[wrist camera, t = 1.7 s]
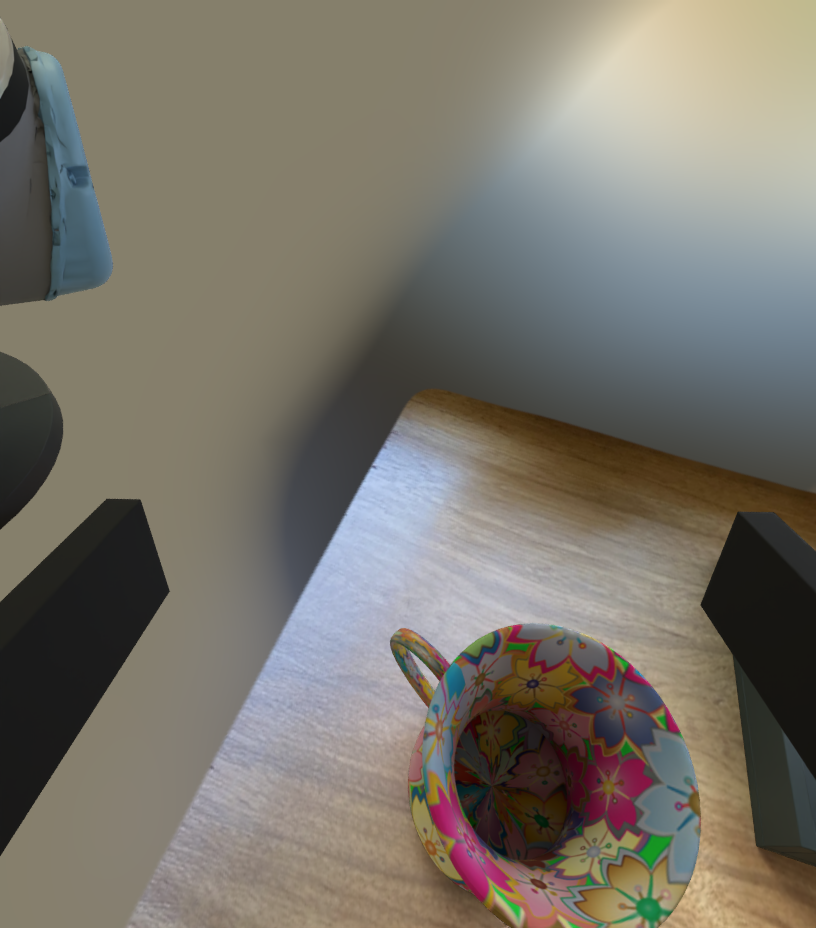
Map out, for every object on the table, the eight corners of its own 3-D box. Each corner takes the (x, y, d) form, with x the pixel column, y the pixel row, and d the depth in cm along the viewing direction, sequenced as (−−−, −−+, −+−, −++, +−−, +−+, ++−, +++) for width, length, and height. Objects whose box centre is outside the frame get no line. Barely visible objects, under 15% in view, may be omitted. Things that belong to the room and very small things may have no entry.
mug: (613, 778, 25) (742, 749, 17) (514, 971, 21) (625, 1061, 12) (436, 621, 30) (470, 535, 21) (321, 751, 25) (306, 707, 17)
